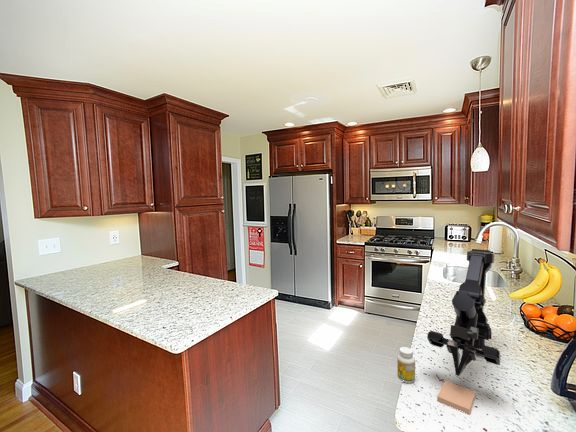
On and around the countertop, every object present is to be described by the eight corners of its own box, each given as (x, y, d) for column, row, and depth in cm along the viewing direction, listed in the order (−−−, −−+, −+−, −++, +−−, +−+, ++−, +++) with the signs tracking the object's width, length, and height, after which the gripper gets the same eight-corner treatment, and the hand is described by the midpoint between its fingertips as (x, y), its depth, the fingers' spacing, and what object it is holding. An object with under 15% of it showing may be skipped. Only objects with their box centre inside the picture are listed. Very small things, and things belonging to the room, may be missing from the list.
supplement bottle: (418, 383, 89) (418, 354, 89) (401, 383, 89) (401, 355, 89) (410, 372, 95) (410, 345, 94) (394, 373, 95) (394, 345, 94)
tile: (445, 380, 88) (437, 396, 81) (475, 391, 83) (469, 409, 76) (445, 386, 88) (437, 402, 82) (475, 398, 83) (469, 416, 76)
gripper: (428, 306, 91) (418, 353, 84) (500, 322, 79) (495, 379, 72) (435, 321, 98) (425, 366, 90) (502, 338, 85) (497, 392, 78)
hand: (457, 375), depth 82 cm, fingers closed
